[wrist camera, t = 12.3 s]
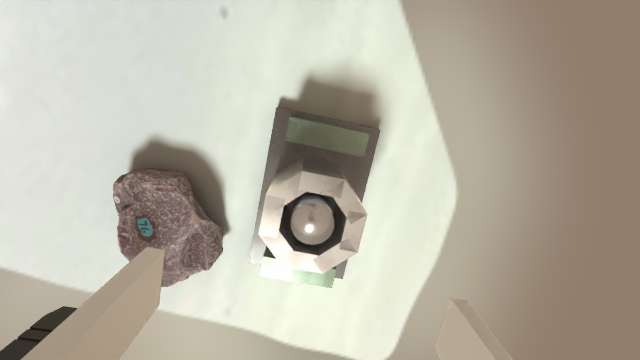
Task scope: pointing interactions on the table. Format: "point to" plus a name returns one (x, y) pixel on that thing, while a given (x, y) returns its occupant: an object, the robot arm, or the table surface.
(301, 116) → the stand
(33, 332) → the robot arm
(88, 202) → the table surface
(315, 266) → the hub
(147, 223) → the rock
